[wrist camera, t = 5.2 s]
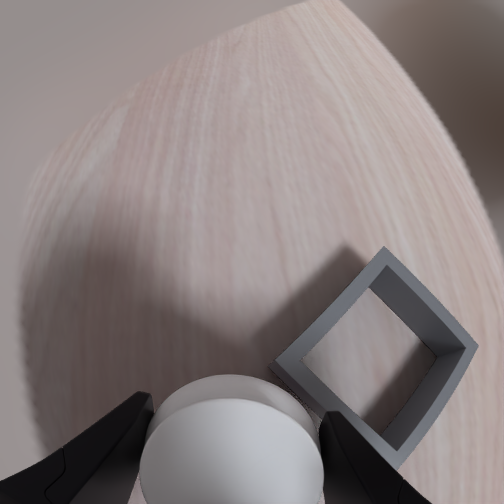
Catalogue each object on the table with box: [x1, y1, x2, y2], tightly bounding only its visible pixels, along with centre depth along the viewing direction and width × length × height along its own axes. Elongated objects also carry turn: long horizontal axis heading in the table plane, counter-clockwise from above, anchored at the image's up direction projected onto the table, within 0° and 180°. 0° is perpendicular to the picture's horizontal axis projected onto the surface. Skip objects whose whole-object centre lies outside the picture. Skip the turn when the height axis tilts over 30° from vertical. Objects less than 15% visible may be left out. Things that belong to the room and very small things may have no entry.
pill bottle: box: [139, 374, 324, 504], centre depth 9 cm, size 5×5×10 cm
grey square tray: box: [268, 246, 479, 471], centre depth 15 cm, size 9×9×3 cm
